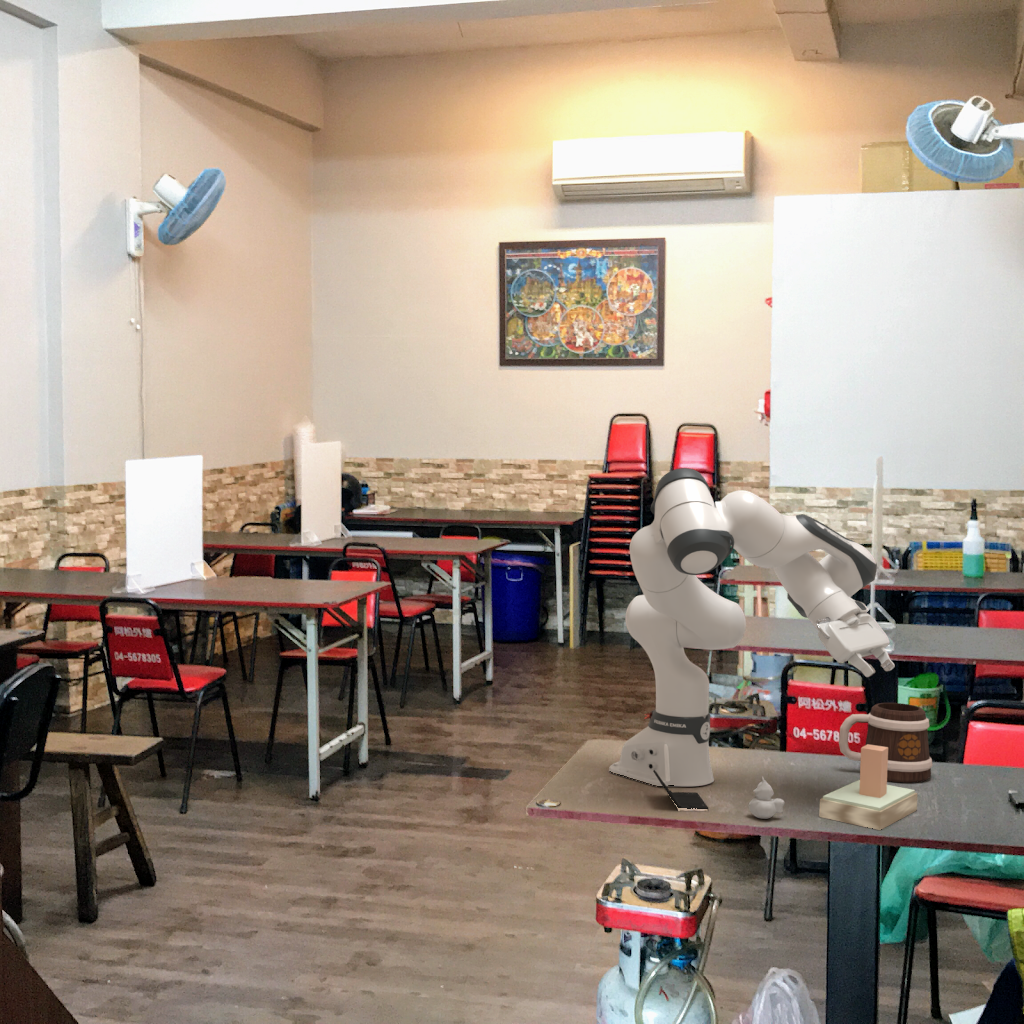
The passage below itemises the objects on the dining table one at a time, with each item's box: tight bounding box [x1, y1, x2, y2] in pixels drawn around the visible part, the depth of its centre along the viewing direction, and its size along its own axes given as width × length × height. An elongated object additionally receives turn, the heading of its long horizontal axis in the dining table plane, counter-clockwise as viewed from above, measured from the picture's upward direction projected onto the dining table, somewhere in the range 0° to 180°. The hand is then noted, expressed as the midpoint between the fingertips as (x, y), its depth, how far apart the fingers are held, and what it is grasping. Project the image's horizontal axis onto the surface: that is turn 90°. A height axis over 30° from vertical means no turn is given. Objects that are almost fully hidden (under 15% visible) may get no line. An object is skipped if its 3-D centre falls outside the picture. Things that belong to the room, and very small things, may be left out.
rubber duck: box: [748, 775, 786, 820], centre depth 226 cm, size 5×7×8 cm
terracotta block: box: [859, 744, 888, 798], centre depth 230 cm, size 4×4×9 cm
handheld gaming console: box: [653, 770, 709, 810], centre depth 234 cm, size 12×7×10 cm
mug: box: [838, 702, 934, 784], centre depth 261 cm, size 20×15×15 cm
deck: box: [818, 779, 918, 831], centre depth 231 cm, size 12×18×4 cm, turn 140°
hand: (881, 671), depth 231 cm, fingers open, 8 cm apart
